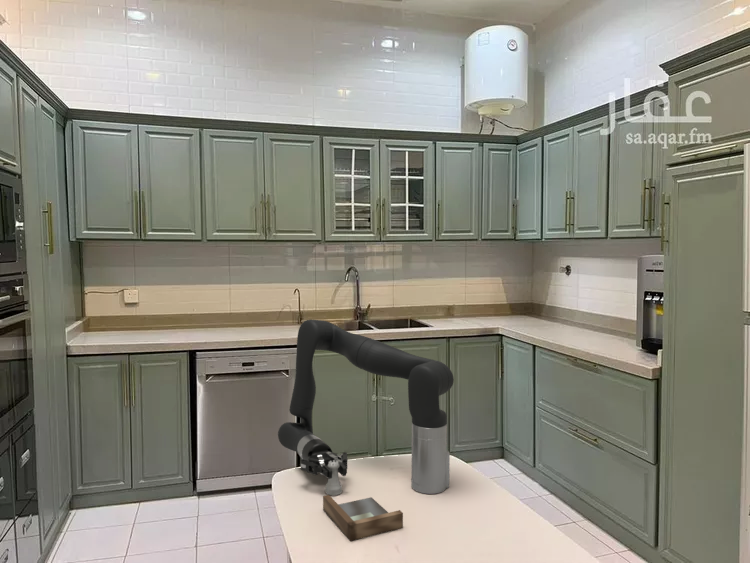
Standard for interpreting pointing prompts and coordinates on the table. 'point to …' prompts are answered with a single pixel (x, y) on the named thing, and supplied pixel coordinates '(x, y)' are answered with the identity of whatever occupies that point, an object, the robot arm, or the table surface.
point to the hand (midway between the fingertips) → (337, 473)
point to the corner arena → (362, 517)
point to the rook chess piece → (333, 480)
